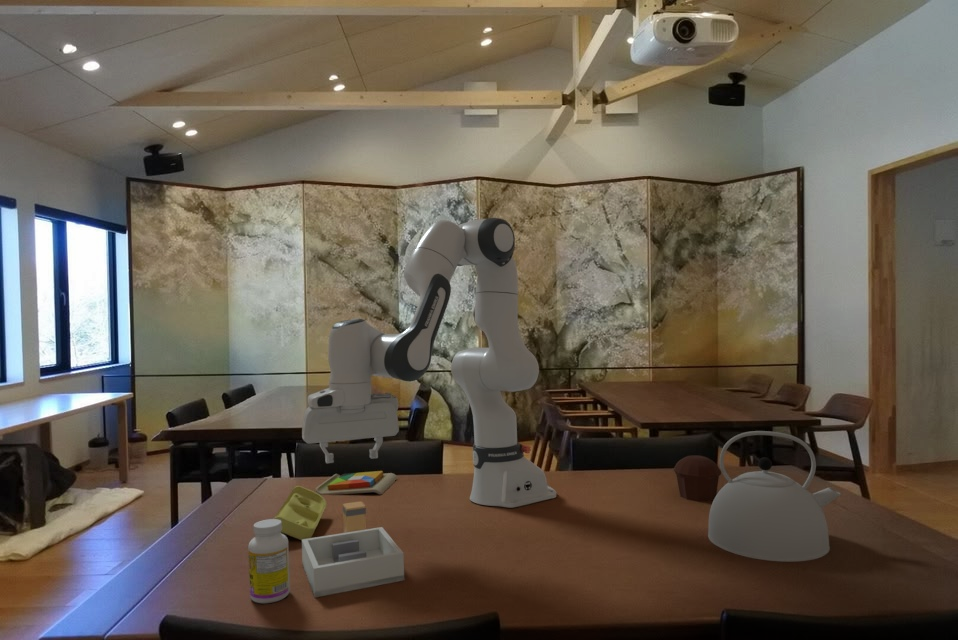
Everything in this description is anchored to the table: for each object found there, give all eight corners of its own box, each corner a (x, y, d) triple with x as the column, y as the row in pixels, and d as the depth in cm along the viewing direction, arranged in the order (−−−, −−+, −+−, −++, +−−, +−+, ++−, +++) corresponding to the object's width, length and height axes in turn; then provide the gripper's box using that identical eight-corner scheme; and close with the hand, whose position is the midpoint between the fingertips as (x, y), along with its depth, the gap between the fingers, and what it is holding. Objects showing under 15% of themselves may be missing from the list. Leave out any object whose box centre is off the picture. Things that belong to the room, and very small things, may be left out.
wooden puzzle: (336, 479, 194) (336, 468, 194) (398, 480, 192) (397, 468, 192) (313, 496, 177) (313, 483, 177) (381, 497, 174) (380, 484, 174)
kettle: (831, 528, 139) (829, 423, 139) (854, 569, 118) (851, 445, 118) (707, 519, 148) (705, 420, 147) (708, 555, 126) (705, 439, 126)
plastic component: (314, 531, 140) (270, 513, 139) (300, 561, 140) (257, 544, 140) (330, 498, 160) (292, 482, 159) (318, 524, 160) (280, 509, 159)
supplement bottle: (255, 589, 116) (253, 517, 116) (293, 587, 117) (291, 515, 117) (245, 606, 110) (242, 530, 109) (285, 603, 110) (283, 528, 110)
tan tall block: (362, 537, 142) (361, 501, 141) (366, 543, 138) (365, 506, 138) (343, 540, 140) (342, 503, 140) (347, 546, 136) (346, 508, 136)
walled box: (382, 551, 133) (382, 526, 133) (404, 580, 118) (403, 553, 118) (302, 565, 127) (301, 539, 127) (314, 597, 112) (313, 568, 112)
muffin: (731, 497, 163) (730, 457, 163) (703, 505, 157) (702, 464, 157) (692, 487, 173) (691, 450, 173) (664, 494, 167) (663, 456, 167)
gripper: (394, 390, 145) (395, 452, 145) (300, 397, 137) (301, 462, 138) (401, 393, 139) (403, 458, 140) (304, 400, 132) (305, 468, 132)
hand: (352, 460), depth 139 cm, fingers open, 8 cm apart
